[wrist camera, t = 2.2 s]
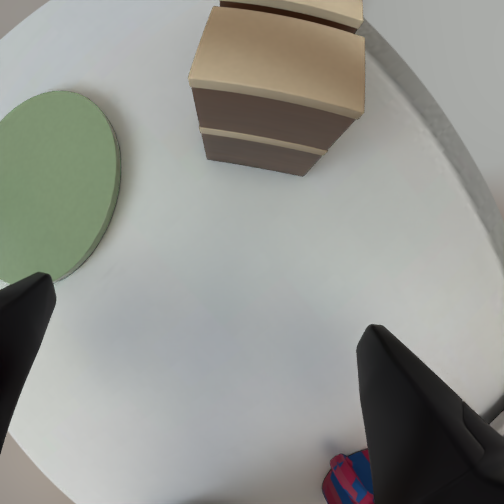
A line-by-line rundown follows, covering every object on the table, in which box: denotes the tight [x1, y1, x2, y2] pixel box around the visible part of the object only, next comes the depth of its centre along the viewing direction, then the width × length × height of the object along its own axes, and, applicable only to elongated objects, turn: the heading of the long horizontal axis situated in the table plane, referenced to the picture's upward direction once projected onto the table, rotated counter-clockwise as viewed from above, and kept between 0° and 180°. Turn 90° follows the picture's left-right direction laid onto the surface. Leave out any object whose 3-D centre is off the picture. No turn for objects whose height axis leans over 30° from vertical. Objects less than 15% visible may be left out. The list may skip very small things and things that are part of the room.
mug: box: [322, 450, 374, 504], centre depth 17 cm, size 7×10×7 cm
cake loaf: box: [220, 0, 363, 34], centre depth 15 cm, size 10×6×10 cm, turn 170°
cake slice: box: [188, 6, 365, 177], centre depth 15 cm, size 4×6×10 cm, turn 80°
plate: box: [0, 91, 121, 285], centre depth 18 cm, size 15×15×1 cm
